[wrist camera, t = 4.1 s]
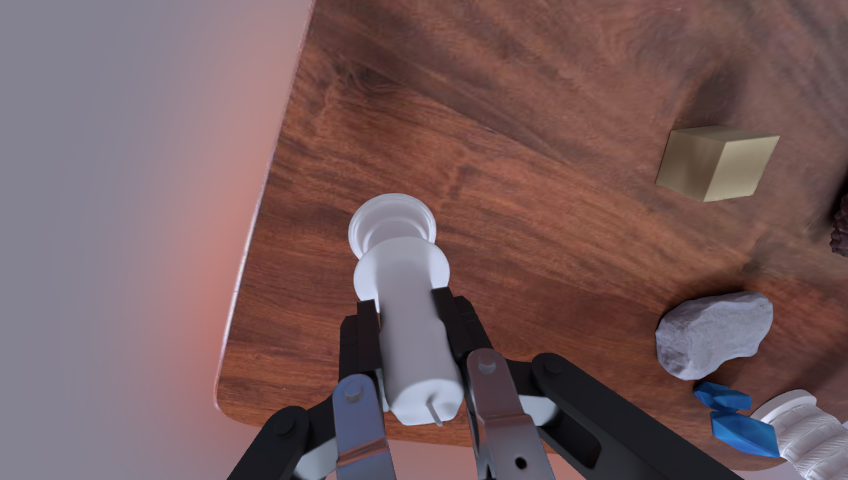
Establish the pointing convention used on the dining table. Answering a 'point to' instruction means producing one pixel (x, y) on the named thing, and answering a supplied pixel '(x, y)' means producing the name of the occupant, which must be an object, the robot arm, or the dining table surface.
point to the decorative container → (807, 435)
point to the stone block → (712, 332)
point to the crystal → (736, 420)
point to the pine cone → (841, 229)
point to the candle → (407, 306)
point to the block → (715, 161)
